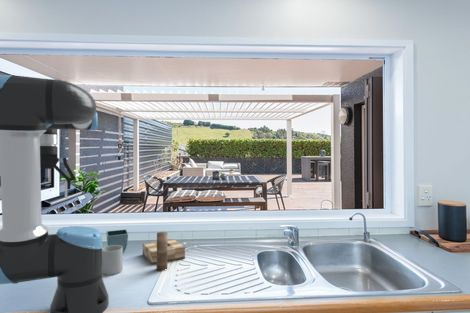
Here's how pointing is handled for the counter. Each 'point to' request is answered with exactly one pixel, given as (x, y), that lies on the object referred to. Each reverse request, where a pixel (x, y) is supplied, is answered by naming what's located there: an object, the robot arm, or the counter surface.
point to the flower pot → (117, 238)
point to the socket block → (173, 251)
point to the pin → (161, 251)
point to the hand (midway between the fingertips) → (46, 198)
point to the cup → (112, 259)
